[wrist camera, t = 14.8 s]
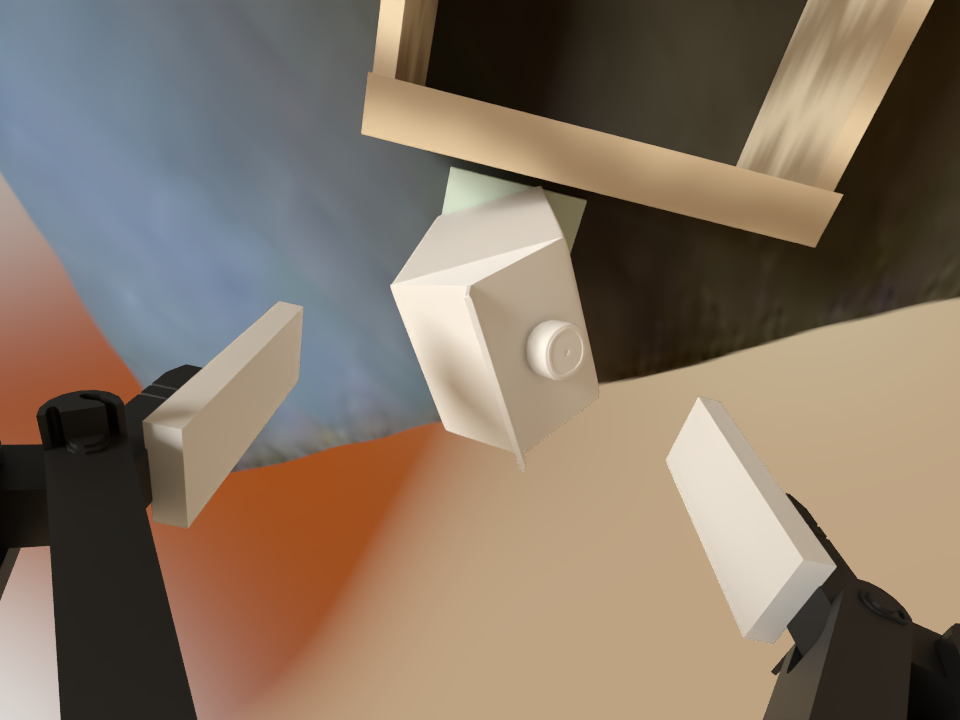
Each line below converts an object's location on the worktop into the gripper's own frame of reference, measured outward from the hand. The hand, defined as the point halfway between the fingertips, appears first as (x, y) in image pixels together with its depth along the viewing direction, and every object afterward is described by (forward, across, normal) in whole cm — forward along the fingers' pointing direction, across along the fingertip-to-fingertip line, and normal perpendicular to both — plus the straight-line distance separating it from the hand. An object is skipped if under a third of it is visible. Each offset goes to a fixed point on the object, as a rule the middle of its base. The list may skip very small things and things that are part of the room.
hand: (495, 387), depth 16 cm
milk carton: (+20, 0, -1) cm, 20 cm away
